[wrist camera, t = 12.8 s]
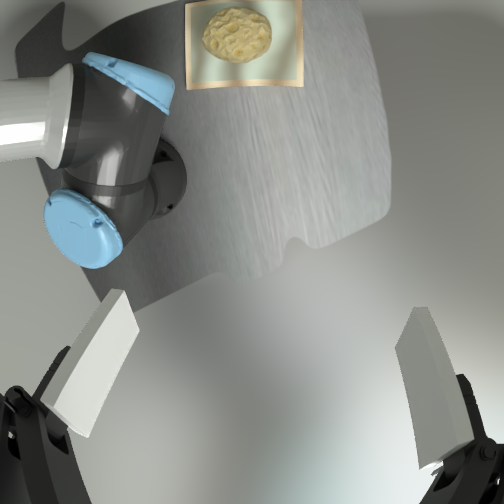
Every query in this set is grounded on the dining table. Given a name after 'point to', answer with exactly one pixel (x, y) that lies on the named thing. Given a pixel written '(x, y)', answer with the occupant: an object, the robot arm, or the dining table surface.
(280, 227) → the dining table surface
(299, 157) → the dining table surface
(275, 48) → the board
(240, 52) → the decorative item
